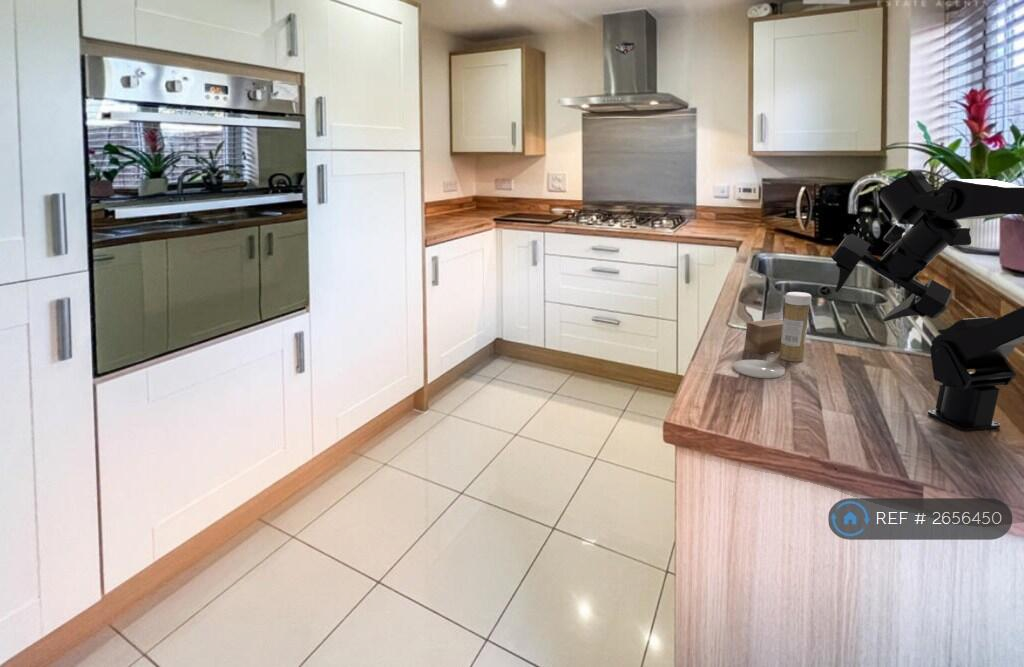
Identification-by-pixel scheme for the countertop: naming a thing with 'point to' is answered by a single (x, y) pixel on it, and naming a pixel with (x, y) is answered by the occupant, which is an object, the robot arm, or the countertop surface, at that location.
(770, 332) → the walnut block
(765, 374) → the stone coaster
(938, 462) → the countertop surface
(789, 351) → the sprinkles bottle
